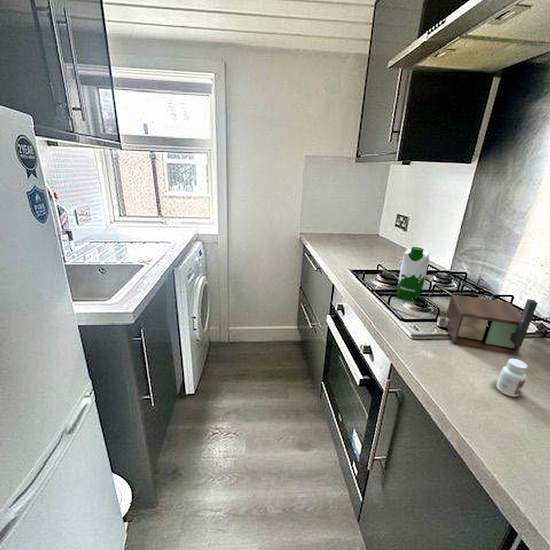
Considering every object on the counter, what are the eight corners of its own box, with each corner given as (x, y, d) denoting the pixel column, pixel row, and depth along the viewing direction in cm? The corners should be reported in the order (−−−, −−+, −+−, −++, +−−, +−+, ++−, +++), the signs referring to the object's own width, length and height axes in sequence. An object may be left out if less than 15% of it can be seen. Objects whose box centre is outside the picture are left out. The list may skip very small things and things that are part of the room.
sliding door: (513, 347, 85) (532, 297, 79) (518, 355, 82) (539, 303, 76) (484, 342, 87) (501, 293, 81) (489, 349, 83) (506, 298, 78)
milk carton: (393, 297, 117) (403, 247, 110) (398, 289, 124) (408, 242, 117) (418, 303, 113) (429, 252, 105) (421, 295, 120) (433, 246, 112)
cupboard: (500, 330, 96) (509, 302, 92) (517, 354, 84) (529, 323, 80) (444, 321, 100) (451, 294, 97) (453, 343, 88) (461, 313, 85)
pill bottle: (520, 400, 68) (531, 372, 65) (496, 392, 70) (506, 364, 67) (517, 388, 71) (528, 361, 68) (495, 381, 73) (505, 354, 71)
